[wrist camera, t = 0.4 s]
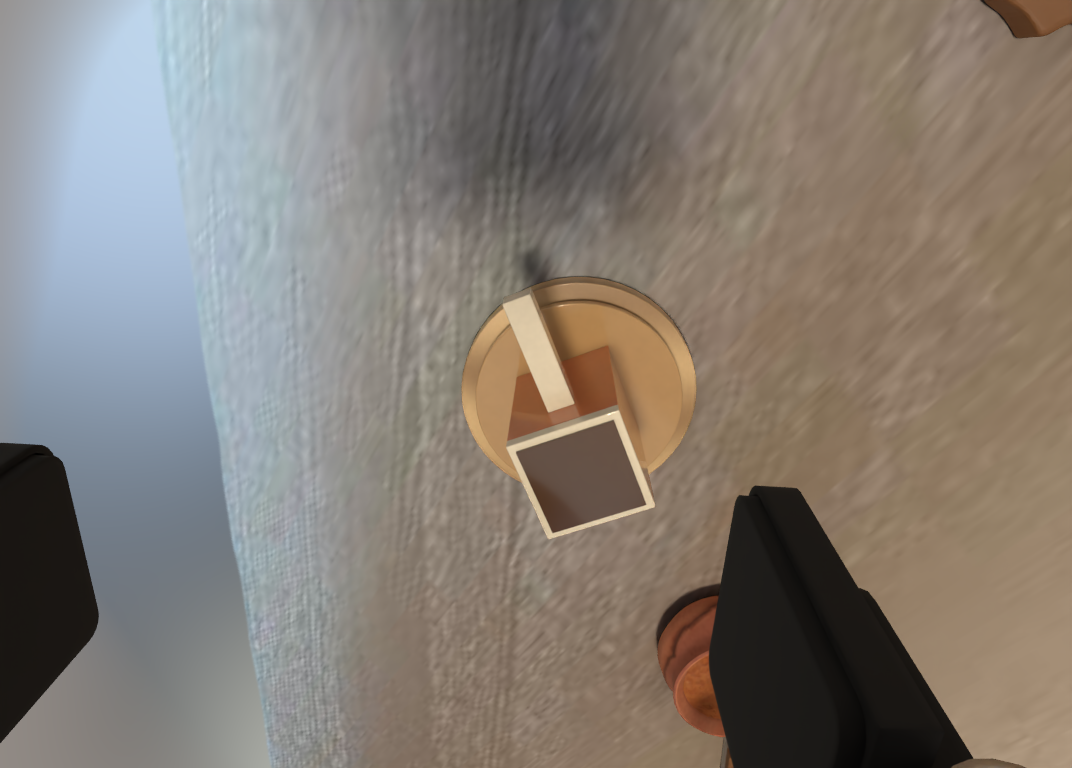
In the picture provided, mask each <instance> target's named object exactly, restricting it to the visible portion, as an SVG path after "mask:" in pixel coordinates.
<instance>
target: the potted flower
mask: <svg viewBox="0 0 1072 768" xmlns="http://www.w3.org/2000/svg"><path fill="white" fill-rule="evenodd" d="M718 597H719V595H717V596H711V597H707V598H703V599H700V600H698V601H695V602H693V603H691V604H690V605H688V606H686V607H685V608H683V609H682V610H681V611H680V612H678V613H677V614H676V616H675V617H674V618H673V619H672V620H671V621H670V622H669V624H668V625H667V627H666V628H665V629H664V631H663V633H662V635H661V637H660V640H659V644H658V660H659V664H660V667H661V670H662V673H663V676H664V678H665V681H666V683H667V685H668V686H669V688H670V689H671V690H672V691H673V698H674V703H675V706H676V708H677V711H678V712H679V714H680V715H681V716H682V718H683V719H684V720H685V721H686V722H687V723H689V724H690V725H692V726H693V727H695V728H697V729H699V730H700V731H702V732H705V733H708V734H711V735H715V736H719V737H726V736H725V732H724V728H723V724H722V720H721V717H720V713H719V709H718V705H717V701H716V697H715V693H714V689H713V685H712V681H711V677H710V671H709V648H710V642H711V636H712V630H713V625H714V619H715V614H716V608H717V602H718Z"/></svg>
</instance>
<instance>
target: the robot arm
mask: <svg viewBox="0 0 1072 768" xmlns="http://www.w3.org/2000/svg"><path fill="white" fill-rule="evenodd" d="M98 617H99V614H98V607H97V603H96V599H95V594H94V590H93V586H92V582H91V577H90V573H89V569H88V565H87V560H86V557H85V552H84V548H83V543H82V540H81V535H80V531H79V526H78V522H77V518H76V514H75V510H74V506H73V501H72V497H71V493H70V488H69V484H68V480H67V476H66V471H65V467H64V465H63V462H62V461H61V460H60V459H59V458H57V457H55V456H54V455H53V453H52V452H51V451H50V450H49V449H48V448H47V447H45V446H43V445H30V444H13V443H0V743H1V742H2V741H3V740H4V738H5V737H6V736H7V735H8V734H9V732H10V731H11V730H12V729H13V728H14V727H15V726H16V724H17V723H18V722H19V721H20V720H21V719H22V718H23V716H24V715H25V714H26V713H27V712H28V711H29V710H30V708H31V707H32V706H33V705H34V704H35V702H36V701H37V700H38V699H39V698H40V697H41V696H42V695H43V693H44V692H45V691H46V690H47V689H48V688H49V686H50V685H51V684H52V683H53V682H54V681H55V679H57V677H58V676H59V675H60V674H61V673H62V672H63V670H64V669H65V668H66V667H67V666H68V665H69V664H70V662H71V661H72V660H73V659H74V658H75V657H76V655H77V654H78V653H79V652H80V651H81V650H82V648H83V647H84V646H85V645H86V644H87V643H88V642H89V640H90V639H91V637H92V636H93V635H94V632H95V630H96V628H97V624H98ZM709 671H710V677H711V681H712V685H713V689H714V693H715V697H716V701H717V705H718V709H719V713H720V717H721V720H722V724H723V728H724V732H725V736H726V740H727V744H728V748H729V752H730V756H731V760H732V764H733V767H734V768H1025V767H1023V766H1021V765H1018V764H1013V763H1009V762H1005V761H1001V760H996V759H973V757H972V755H971V754H970V752H969V750H968V749H967V747H966V746H965V744H964V742H963V741H962V739H961V738H960V736H959V734H958V733H957V731H956V730H955V728H954V726H953V725H952V723H951V721H950V720H949V718H948V717H947V715H946V713H945V712H944V710H943V709H942V707H941V705H940V704H939V702H938V701H937V699H936V697H935V696H934V694H933V693H932V691H931V689H930V688H929V686H928V684H927V683H926V681H925V680H924V678H923V676H922V675H921V673H920V672H919V670H918V668H917V667H916V665H915V664H914V662H913V660H912V659H911V657H910V655H909V654H908V652H907V651H906V649H905V647H904V646H903V644H902V643H901V641H900V639H899V638H898V636H897V635H896V633H895V631H894V630H893V628H892V627H891V625H890V623H889V622H888V620H887V618H886V617H885V615H884V614H883V612H882V610H881V609H880V607H879V606H878V604H877V602H876V601H875V599H874V598H873V597H872V596H871V595H870V593H869V592H868V591H865V590H863V589H861V588H858V587H857V585H856V583H855V582H854V580H853V578H852V577H851V575H850V573H849V572H848V570H847V569H846V567H845V565H844V564H843V562H842V560H841V559H840V557H839V555H838V554H837V552H836V550H835V549H834V547H833V545H832V544H831V542H830V540H829V539H828V537H827V535H826V534H825V532H824V530H823V529H822V527H821V525H820V524H819V522H818V520H817V519H816V517H815V515H814V514H813V512H812V510H811V509H810V507H809V505H808V504H807V502H806V500H805V499H804V497H803V495H802V494H801V492H800V491H799V490H798V489H797V488H786V487H769V486H754V487H753V488H752V489H751V491H750V494H749V496H742V495H739V496H738V497H737V499H736V502H735V506H734V512H733V517H732V523H731V529H730V534H729V540H728V546H727V551H726V557H725V563H724V568H723V574H722V580H721V585H720V591H719V597H718V602H717V608H716V614H715V619H714V625H713V630H712V636H711V642H710V648H709Z"/></svg>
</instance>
